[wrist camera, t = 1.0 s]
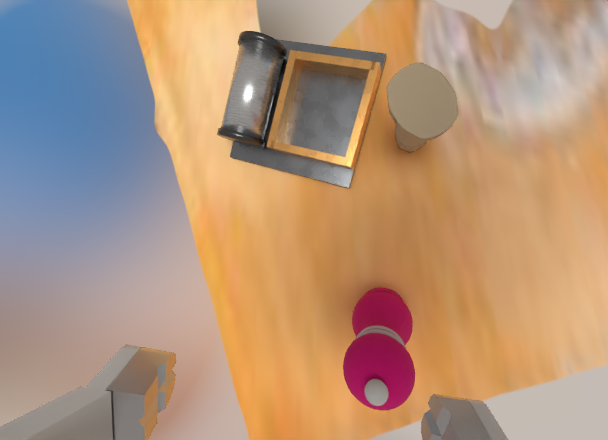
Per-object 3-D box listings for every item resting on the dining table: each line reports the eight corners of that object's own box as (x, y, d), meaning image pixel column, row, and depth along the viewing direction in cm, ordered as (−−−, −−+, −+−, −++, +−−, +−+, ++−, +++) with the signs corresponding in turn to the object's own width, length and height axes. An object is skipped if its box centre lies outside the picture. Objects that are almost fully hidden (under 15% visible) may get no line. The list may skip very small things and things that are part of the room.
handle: (413, 110, 39) (426, 51, 24) (440, 150, 38) (471, 114, 24) (380, 131, 40) (375, 88, 26) (406, 171, 39) (416, 149, 25)
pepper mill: (370, 274, 41) (352, 331, 22) (420, 300, 39) (448, 387, 20) (347, 318, 42) (312, 409, 23) (395, 345, 40) (399, 469, 21)
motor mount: (258, 40, 44) (234, 9, 37) (386, 57, 39) (385, 24, 32) (231, 157, 46) (203, 148, 39) (349, 188, 41) (341, 183, 34)
